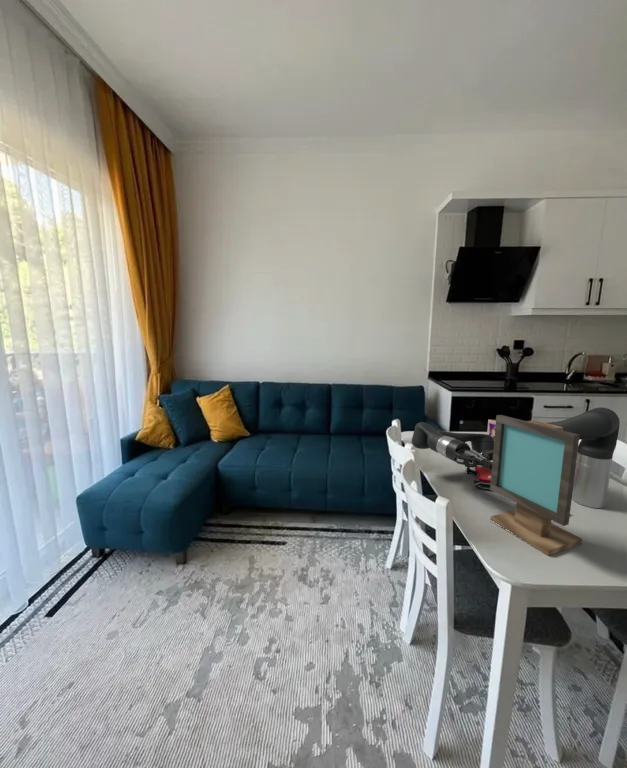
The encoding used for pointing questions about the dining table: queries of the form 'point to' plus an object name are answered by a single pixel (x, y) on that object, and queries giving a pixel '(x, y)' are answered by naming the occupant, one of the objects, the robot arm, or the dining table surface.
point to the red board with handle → (481, 476)
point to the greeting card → (491, 428)
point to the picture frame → (535, 466)
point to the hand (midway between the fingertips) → (494, 467)
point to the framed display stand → (537, 525)
